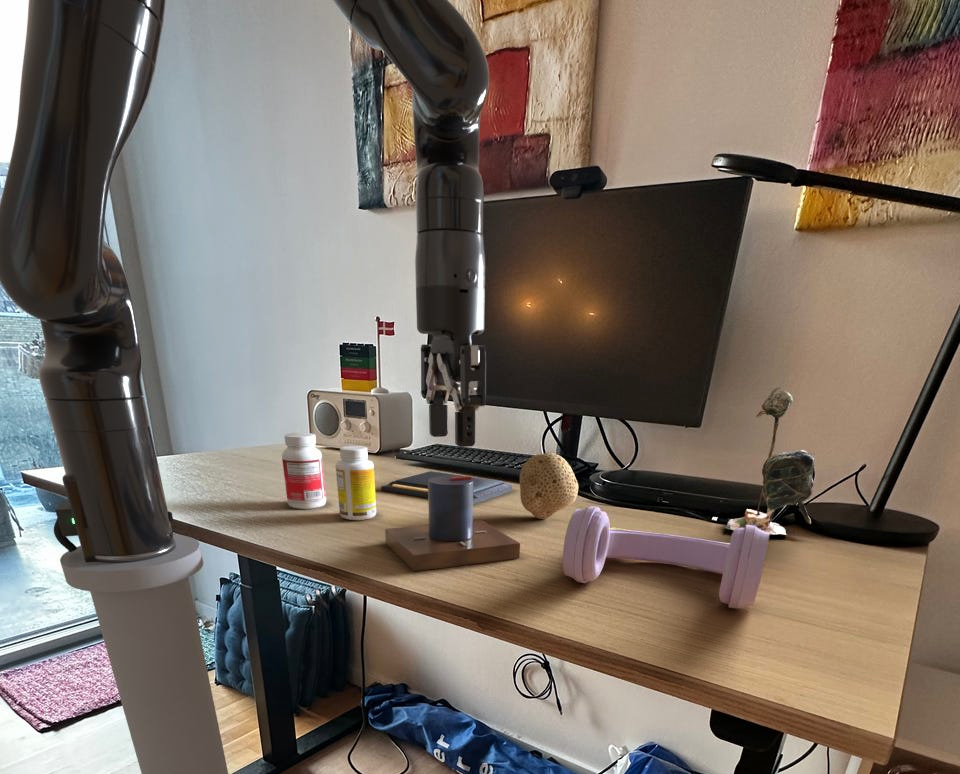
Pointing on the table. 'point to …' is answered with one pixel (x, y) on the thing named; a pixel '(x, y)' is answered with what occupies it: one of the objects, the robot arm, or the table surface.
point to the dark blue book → (419, 483)
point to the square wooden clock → (450, 547)
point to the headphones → (666, 553)
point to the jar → (450, 508)
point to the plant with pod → (780, 475)
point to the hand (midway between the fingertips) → (451, 441)
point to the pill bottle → (303, 472)
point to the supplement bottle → (355, 484)
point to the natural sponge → (547, 485)
